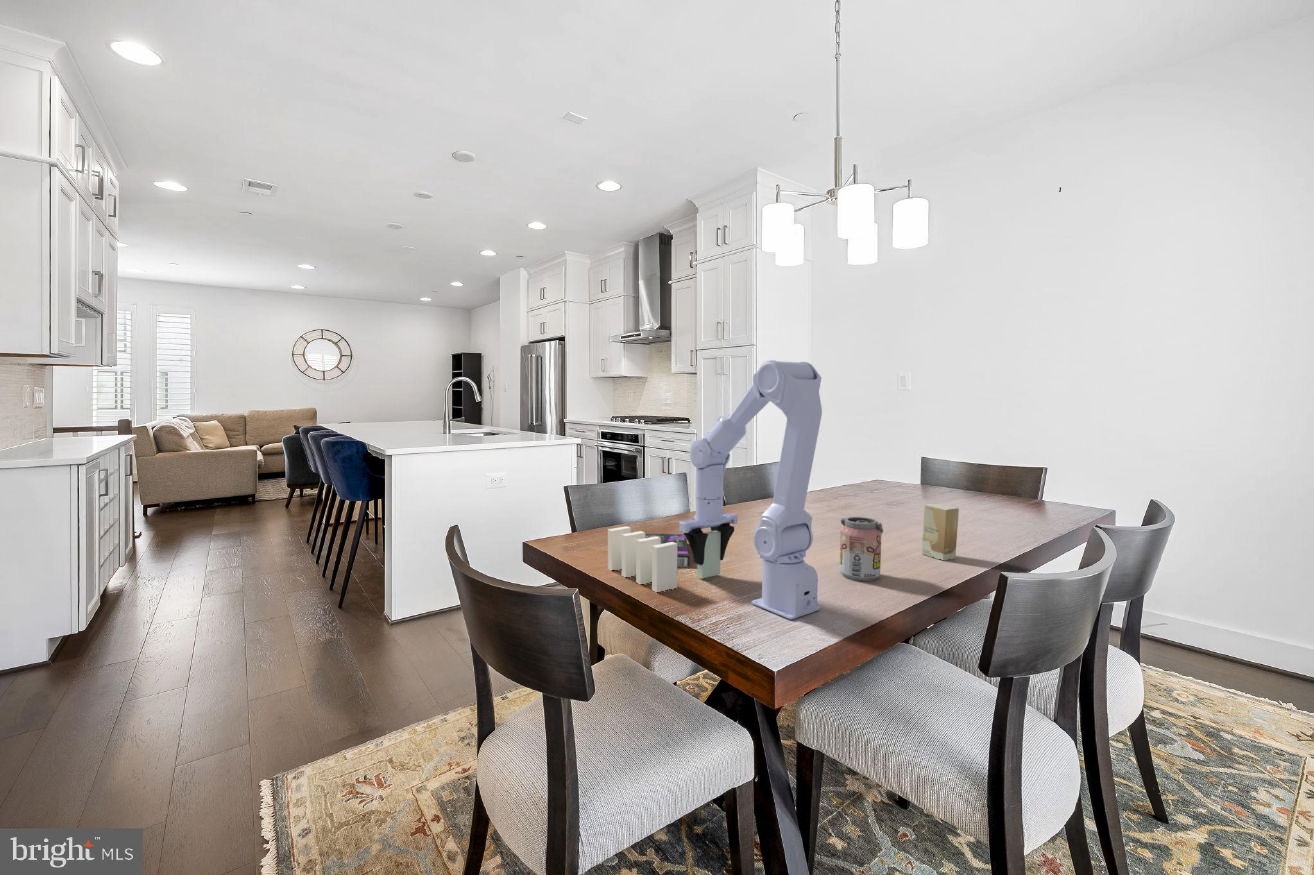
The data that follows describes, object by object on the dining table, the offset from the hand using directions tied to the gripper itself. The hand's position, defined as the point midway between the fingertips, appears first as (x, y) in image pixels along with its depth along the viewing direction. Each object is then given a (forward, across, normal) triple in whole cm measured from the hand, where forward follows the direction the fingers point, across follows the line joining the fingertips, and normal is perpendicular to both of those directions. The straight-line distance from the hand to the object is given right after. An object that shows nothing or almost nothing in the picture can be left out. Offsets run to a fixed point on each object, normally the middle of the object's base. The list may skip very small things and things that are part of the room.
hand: (708, 561), depth 117 cm
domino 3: (+3, +12, -5) cm, 13 cm away
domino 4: (+3, +12, 0) cm, 12 cm away
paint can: (+4, -27, +18) cm, 33 cm away
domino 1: (+3, +12, -16) cm, 20 cm away
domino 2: (+3, +12, -10) cm, 16 cm away
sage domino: (+3, 0, 0) cm, 3 cm away
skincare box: (+4, -54, +21) cm, 58 cm away
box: (+4, -2, -20) cm, 21 cm away
